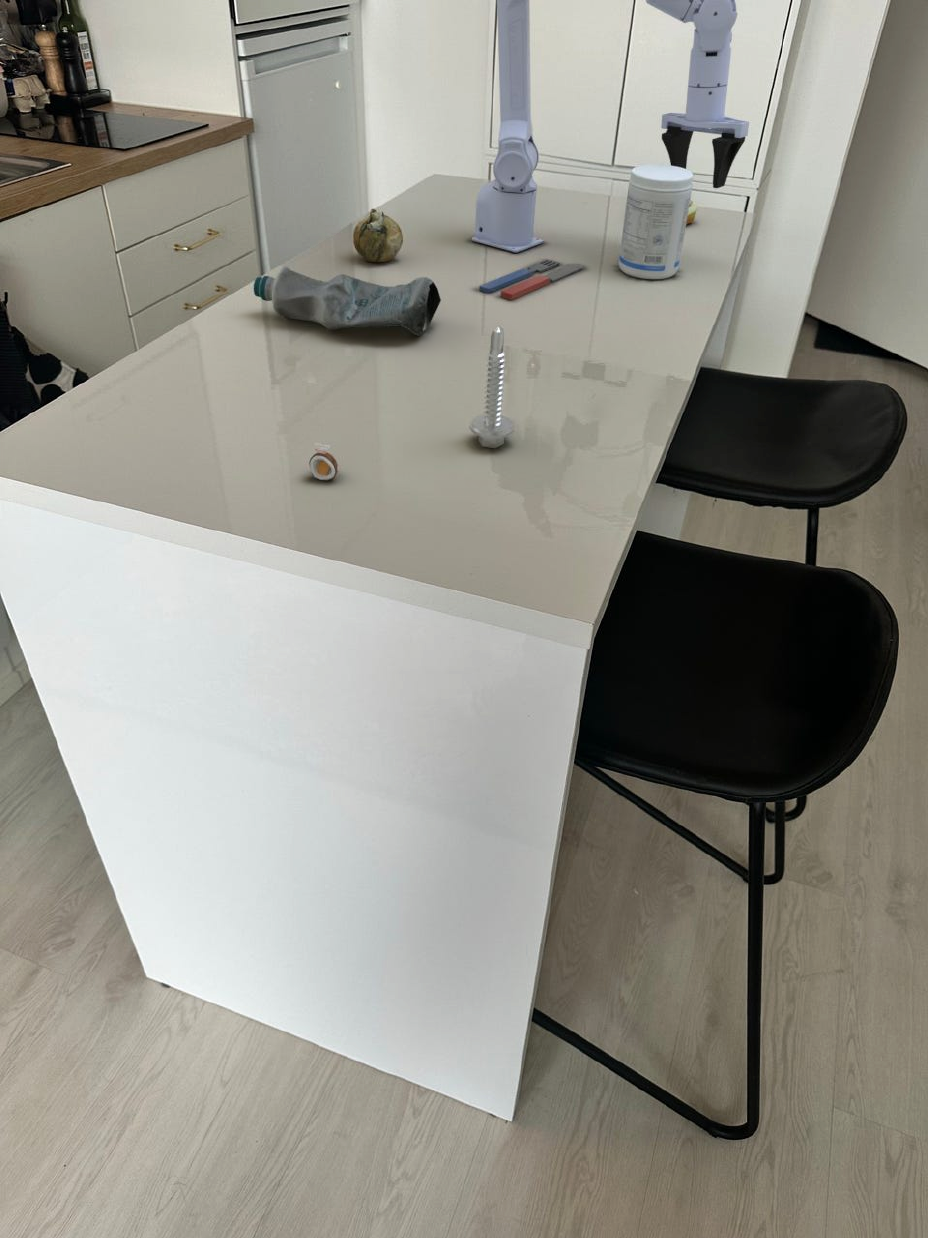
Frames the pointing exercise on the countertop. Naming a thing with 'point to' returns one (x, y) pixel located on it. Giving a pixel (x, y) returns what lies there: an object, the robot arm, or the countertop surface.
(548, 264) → the fork
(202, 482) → the countertop surface
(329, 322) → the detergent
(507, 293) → the knife
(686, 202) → the supplement tub
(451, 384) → the countertop surface
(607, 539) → the countertop surface
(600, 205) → the countertop surface
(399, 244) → the onion
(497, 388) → the screw
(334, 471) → the chocolate
